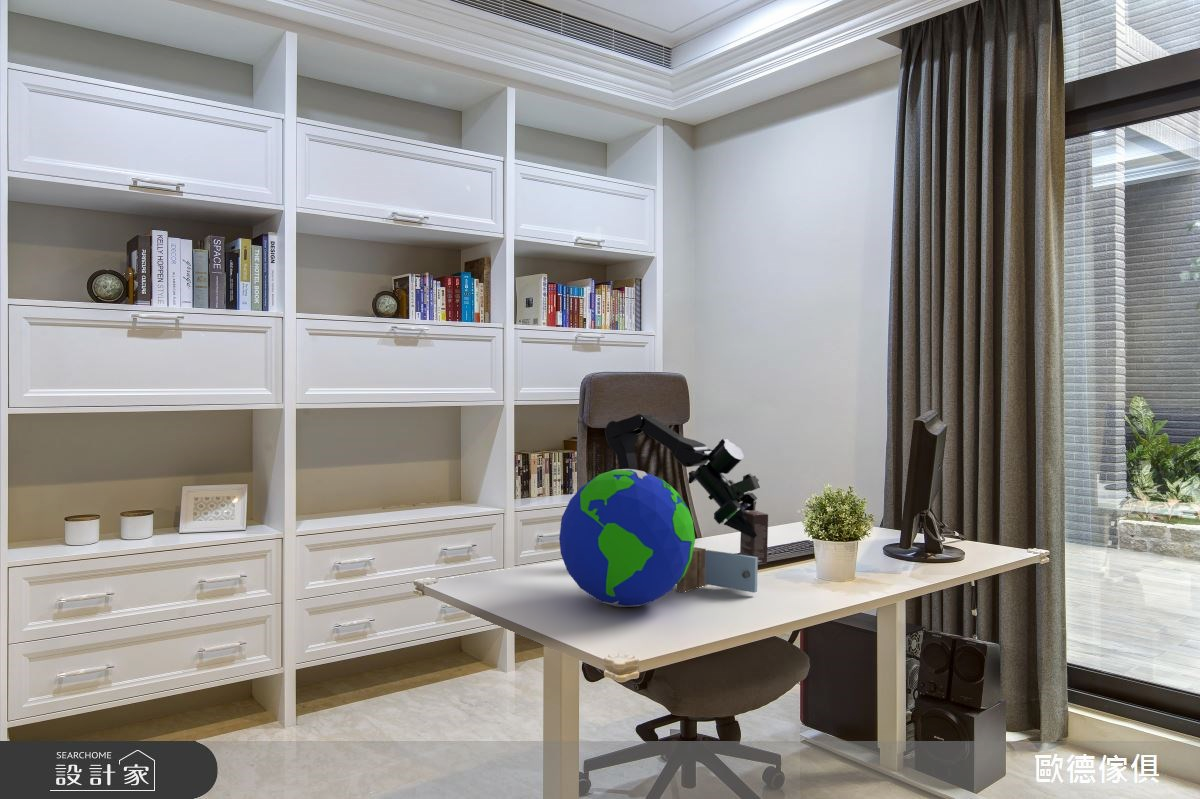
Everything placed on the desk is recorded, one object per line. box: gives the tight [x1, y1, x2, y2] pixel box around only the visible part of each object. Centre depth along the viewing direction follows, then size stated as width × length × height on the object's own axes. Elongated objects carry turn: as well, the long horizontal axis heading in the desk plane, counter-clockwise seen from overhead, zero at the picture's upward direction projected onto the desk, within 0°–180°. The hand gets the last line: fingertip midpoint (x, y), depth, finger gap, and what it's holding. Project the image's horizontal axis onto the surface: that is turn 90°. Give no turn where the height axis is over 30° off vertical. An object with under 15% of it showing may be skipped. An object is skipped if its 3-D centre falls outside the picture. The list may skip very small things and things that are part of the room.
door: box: [705, 549, 759, 594], centre depth 193 cm, size 13×2×8 cm, turn 54°
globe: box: [558, 468, 696, 608], centre depth 181 cm, size 30×30×30 cm
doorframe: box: [676, 546, 707, 593], centre depth 202 cm, size 22×3×9 cm, turn 142°
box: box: [739, 509, 769, 566], centre depth 199 cm, size 6×4×12 cm
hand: (759, 534), depth 198 cm, fingers closed on box, 7 cm apart
